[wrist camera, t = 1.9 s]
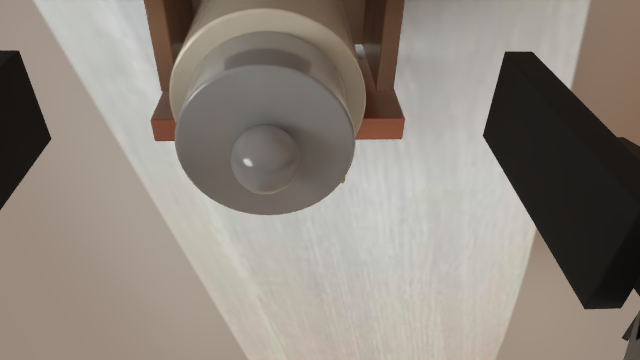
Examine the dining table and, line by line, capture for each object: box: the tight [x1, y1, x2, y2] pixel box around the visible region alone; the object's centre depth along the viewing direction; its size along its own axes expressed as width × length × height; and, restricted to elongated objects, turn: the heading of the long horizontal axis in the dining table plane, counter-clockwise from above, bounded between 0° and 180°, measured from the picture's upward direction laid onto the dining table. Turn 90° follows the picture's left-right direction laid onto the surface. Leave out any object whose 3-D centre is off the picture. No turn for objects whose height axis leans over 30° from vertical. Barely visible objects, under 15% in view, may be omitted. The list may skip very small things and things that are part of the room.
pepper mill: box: [169, 0, 366, 215], centre depth 17 cm, size 5×5×17 cm
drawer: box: [144, 0, 405, 183], centre depth 23 cm, size 19×12×7 cm, turn 178°
